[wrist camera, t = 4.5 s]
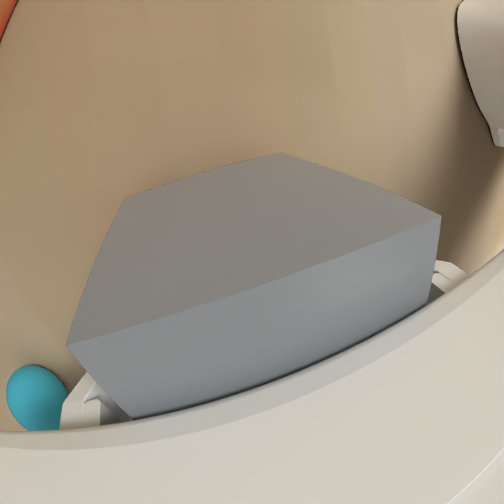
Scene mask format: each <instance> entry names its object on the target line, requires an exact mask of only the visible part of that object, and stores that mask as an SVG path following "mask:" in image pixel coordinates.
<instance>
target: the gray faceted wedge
mask: <svg viewBox="0 0 504 504" xmlns="http://www.w3.org/2000/svg"><path fill="white" fill-rule="evenodd" d="M440 226H441V215H439V214H437V213H435V212H433V211H431V210H429V209H427V208H425V207H422V206H420V205H418V204H416V203H414V202H412V201H410V200H407V199H405V198H403V197H401V196H398V195H396V194H394V193H391V192H389V191H387V190H384V189H382V188H380V187H377V186H375V185H372V184H370V183H367V182H365V181H362V180H360V179H357V178H354V177H352V176H349V175H347V174H344V173H341V172H338V171H336V170H333V169H330V168H327V167H324V166H321V165H318V164H316V163H313V162H310V161H307V160H303V159H300V158H297V157H294V156H291V155H288V154H284V153H281V152H280V153H276V154H272V155H267V156H263V157H259V158H255V159H251V160H247V161H243V162H239V163H235V164H231V165H228V166H224V167H220V168H217V169H213V170H210V171H206V172H203V173H199V174H196V175H193V176H189V177H186V178H183V179H180V180H177V181H174V182H170V183H167V184H164V185H161V186H158V187H155V188H152V189H150V190H147V191H144V192H141V193H138V194H135V195H133V196H130V197H127V198H125V199H124V201H123V203H122V205H121V207H120V209H119V211H118V213H117V215H116V217H115V219H114V221H113V223H112V225H111V227H110V229H109V231H108V233H107V236H106V238H105V240H104V242H103V244H102V247H101V249H100V251H99V254H98V256H97V258H96V261H95V263H94V265H93V268H92V270H91V273H90V275H89V278H88V280H87V283H86V286H85V288H84V291H83V294H82V297H81V299H80V302H79V305H78V308H77V311H76V314H75V317H74V320H73V323H72V326H71V329H70V333H69V336H68V339H67V343H66V347H67V348H68V349H69V350H70V352H71V353H72V354H73V356H74V357H75V358H76V359H77V360H78V362H79V363H80V364H81V365H82V367H83V368H84V369H85V370H86V371H87V372H88V374H89V375H90V376H91V377H92V378H93V379H94V380H95V381H96V383H97V384H98V385H99V386H100V387H101V388H102V389H103V390H104V391H105V392H106V393H107V394H108V395H109V397H110V398H111V399H112V400H113V401H114V402H115V403H116V404H117V405H118V406H119V407H120V408H121V409H122V410H123V411H125V412H126V413H127V414H128V415H129V416H130V417H131V418H132V419H133V420H139V419H144V418H149V417H154V416H158V415H163V414H167V413H172V412H176V411H180V410H184V409H188V408H192V407H195V406H199V405H203V404H206V403H210V402H213V401H216V400H220V399H223V398H226V397H230V396H233V395H236V394H239V393H242V392H245V391H248V390H251V389H254V388H256V387H259V386H262V385H265V384H267V383H270V382H273V381H275V380H278V379H281V378H283V377H286V376H288V375H291V374H293V373H296V372H298V371H301V370H303V369H305V368H308V367H310V366H312V365H315V364H317V363H319V362H321V361H324V360H326V359H328V358H330V357H332V356H335V355H337V354H339V353H341V352H343V351H345V350H347V349H349V348H351V347H353V346H355V345H357V344H359V343H361V342H363V341H365V340H367V339H369V338H371V337H373V336H375V335H377V334H378V333H380V332H382V331H384V330H386V329H388V328H389V327H391V326H393V325H395V324H396V323H398V322H400V321H402V320H403V319H405V318H407V317H408V316H410V315H412V314H413V313H415V312H417V311H418V310H420V309H421V308H423V307H425V306H426V304H427V300H428V296H429V291H430V287H431V282H432V277H433V272H434V266H435V261H436V255H437V248H438V241H439V234H440Z"/></svg>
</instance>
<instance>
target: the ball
mask: <svg viewBox="0 0 504 504" xmlns="http://www.w3.org/2000/svg"><path fill="white" fill-rule="evenodd" d="M67 397H68V393H67V391H66V389H65V387H64V385H63V384H62V382H61V381H60V380H59V379H58V378H57V377H56V376H55V375H54V374H53V373H52V372H50V371H49V370H47V369H45V368H42V367H39V366H34V365H29V366H24V367H21V368H19V369H17V370H16V371H15V372H14V373H13V374H12V375H11V377H10V378H9V381H8V383H7V388H6V398H7V403H8V406H9V409H10V411H11V413H12V415H13V416H14V418H15V419H16V420H17V421H18V422H19V423H20V424H21V425H22V426H23V427H24V428H26V429H27V430H29V431H45V430H59V428H60V420H61V413H62V406H63V403H64V401H65V400H66V398H67Z"/></svg>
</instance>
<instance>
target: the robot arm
mask: <svg viewBox="0 0 504 504" xmlns="http://www.w3.org/2000/svg"><path fill="white" fill-rule="evenodd" d="M457 24H458V34H459V41H460V46H461V51H462V55H463V60H464V64H465V68H466V71H467V75H468V78H469V81H470V84H471V87H472V90H473V93H474V96H475V98H476V101H477V103H478V105H479V108H480V110H481V112H482V113H483V115H484V117H485V118H486V120H487V122H488V124H489V126H490V130H491V134H492V138H493V141H494V144H495V145H496V146H500V147H504V0H464V1H463V2H462V3H461V4H460V6H459V8H458V14H457ZM129 419H130V416H129V415H128V414H127V413H126V412H125V411H123V410H122V409H121V408H120V407H119V406H118V405H117V404H116V403H115V402H114V401H113V400H112V399H111V398H110V397H109V395H108V394H107V393H106V392H105V391H104V390H103V389H102V388H101V387H100V386H99V385H98V384H97V383H96V381H95V380H94V379H93V378H92V377H91V376H90V375H89V374H88V372H86V373H85V375H84V376H83V377H82V379H81V380H80V381H79V382H78V384H77V385H76V386H75V388H74V389H73V390H72V392H71V393H70V394H69V396H68V397H67V398H66V400H65V401H64V403H63V406H62V413H61V420H60V428H59V430H45V431H2V430H0V504H504V249H503V250H502V251H501V252H499V253H498V254H497V255H496V256H495V257H493V258H492V259H491V260H490V261H488V262H487V263H486V264H485V265H483V266H482V267H481V268H479V269H478V270H477V271H475V272H474V273H473V274H471V275H468V274H467V273H465V272H464V271H463V270H461V269H460V268H458V267H457V266H455V265H454V264H452V263H450V262H445V261H439V260H436V261H435V266H434V272H433V277H432V282H431V287H430V291H429V296H428V300H427V304H426V306H425V307H423V308H421V309H420V310H418V311H417V312H415V313H413V314H412V315H410V316H408V317H407V318H405V319H403V320H402V321H400V322H398V323H396V324H395V325H393V326H391V327H389V328H388V329H386V330H384V331H382V332H380V333H378V334H377V335H375V336H373V337H371V338H369V339H367V340H365V341H363V342H361V343H359V344H357V345H355V346H353V347H351V348H349V349H347V350H345V351H343V352H341V353H339V354H337V355H335V356H332V357H330V358H328V359H326V360H324V361H321V362H319V363H317V364H315V365H312V366H310V367H308V368H305V369H303V370H301V371H298V372H296V373H293V374H291V375H288V376H286V377H283V378H281V379H278V380H275V381H273V382H270V383H267V384H265V385H262V386H259V387H256V388H254V389H251V390H248V391H245V392H242V393H239V394H236V395H233V396H230V397H226V398H223V399H220V400H216V401H213V402H210V403H206V404H203V405H199V406H195V407H192V408H188V409H184V410H180V411H176V412H172V413H167V414H163V415H158V416H154V417H149V418H144V419H139V420H133V421H129Z"/></svg>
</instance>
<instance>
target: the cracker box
mask: <svg viewBox="0 0 504 504" xmlns="http://www.w3.org/2000/svg"><path fill="white" fill-rule="evenodd" d="M16 2H17V0H0V39H1V36H2V34H3V31H4V29H5V26H6V24H7V22H8V19H9V17H10V15H11V13H12V10H13V8H14V6H15V4H16Z"/></svg>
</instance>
